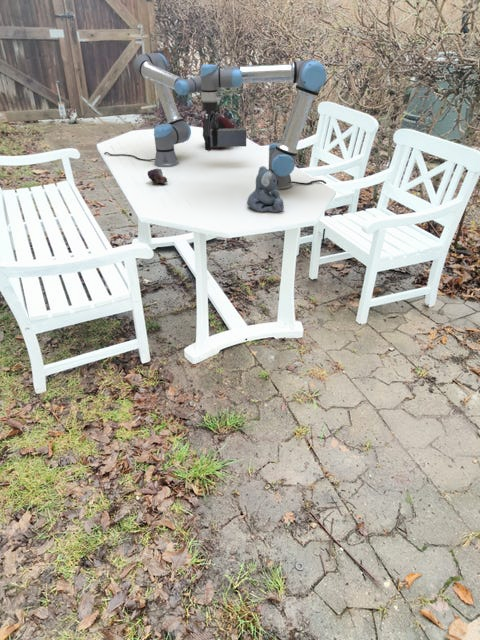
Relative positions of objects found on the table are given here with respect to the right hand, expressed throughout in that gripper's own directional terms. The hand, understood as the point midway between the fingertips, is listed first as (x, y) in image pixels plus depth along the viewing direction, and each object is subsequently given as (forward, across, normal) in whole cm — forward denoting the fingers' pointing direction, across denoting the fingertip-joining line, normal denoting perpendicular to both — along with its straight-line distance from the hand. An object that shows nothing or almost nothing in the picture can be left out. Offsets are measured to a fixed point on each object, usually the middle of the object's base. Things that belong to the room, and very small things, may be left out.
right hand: (211, 146), depth 230 cm
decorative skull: (+25, +102, +24) cm, 108 cm away
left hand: (+12, +52, +13) cm, 54 cm away
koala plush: (+25, -14, -30) cm, 42 cm away
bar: (+12, +53, +5) cm, 55 cm away
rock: (+25, +12, +37) cm, 47 cm away
